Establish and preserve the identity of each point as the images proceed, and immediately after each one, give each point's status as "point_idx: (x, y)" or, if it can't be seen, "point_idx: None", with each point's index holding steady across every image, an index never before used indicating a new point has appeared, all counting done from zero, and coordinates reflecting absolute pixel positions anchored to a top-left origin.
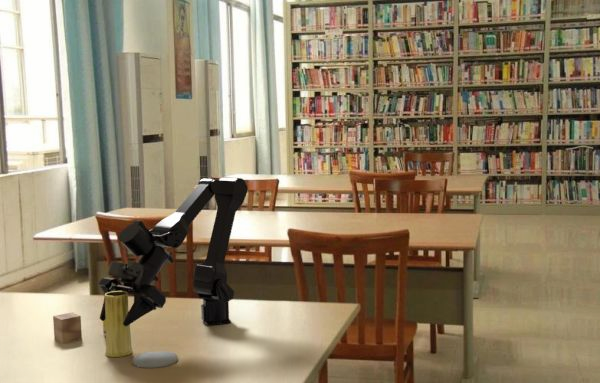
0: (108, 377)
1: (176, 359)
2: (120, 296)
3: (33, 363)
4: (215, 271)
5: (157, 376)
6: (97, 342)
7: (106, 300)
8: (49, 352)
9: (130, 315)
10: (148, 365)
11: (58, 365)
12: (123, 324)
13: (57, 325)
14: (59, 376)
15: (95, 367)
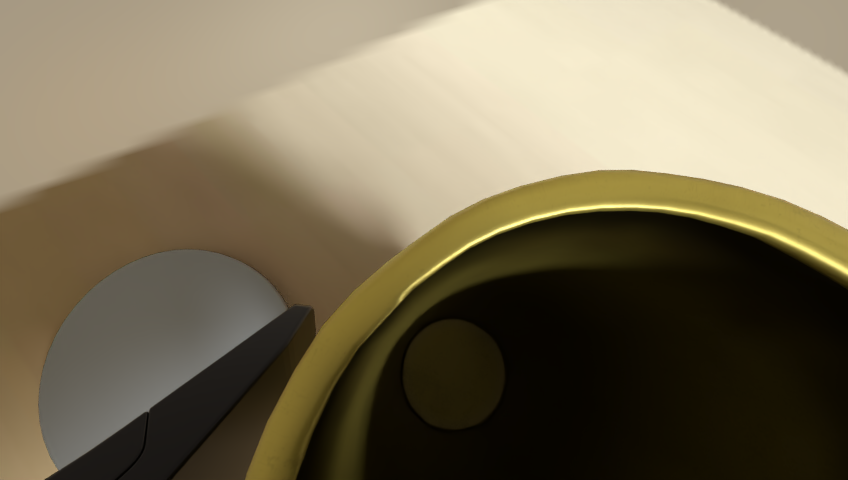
0: (248, 99)
1: (43, 421)
2: (282, 419)
3: (676, 78)
4: None
5: (42, 199)
6: None
7: (650, 246)
8: None
9: (204, 374)
10: (136, 260)
11: (562, 107)
12: (306, 307)
13: None
14: (443, 26)
15: (394, 159)
